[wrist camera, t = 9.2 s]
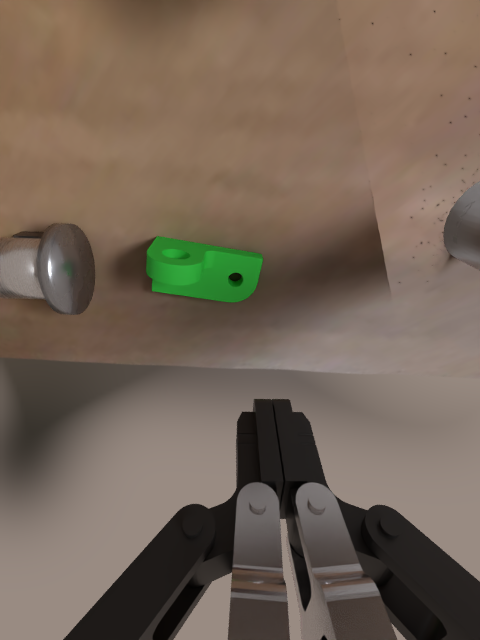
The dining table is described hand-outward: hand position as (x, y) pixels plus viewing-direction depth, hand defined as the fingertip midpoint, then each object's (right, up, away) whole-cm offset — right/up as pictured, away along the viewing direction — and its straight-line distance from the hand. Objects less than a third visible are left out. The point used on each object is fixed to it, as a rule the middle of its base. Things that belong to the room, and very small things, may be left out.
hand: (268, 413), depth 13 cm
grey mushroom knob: (-22, +11, +21) cm, 32 cm away
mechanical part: (-5, +10, +23) cm, 26 cm away
